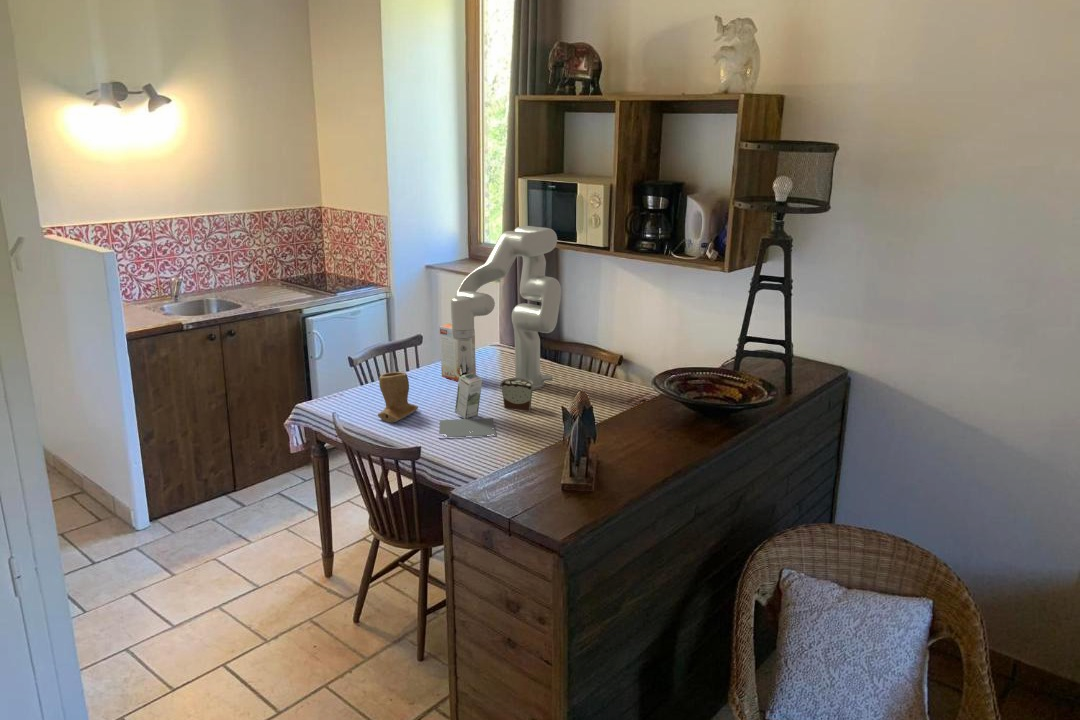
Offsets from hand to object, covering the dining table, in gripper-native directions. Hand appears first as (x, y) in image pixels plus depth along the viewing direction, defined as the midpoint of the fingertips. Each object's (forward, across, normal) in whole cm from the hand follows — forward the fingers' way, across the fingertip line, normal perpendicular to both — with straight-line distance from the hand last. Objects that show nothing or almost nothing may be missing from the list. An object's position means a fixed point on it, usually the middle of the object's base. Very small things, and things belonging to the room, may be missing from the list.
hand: (464, 384), depth 270 cm
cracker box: (+10, +38, +2) cm, 39 cm away
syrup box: (+10, -3, 0) cm, 10 cm away
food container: (+10, +4, -19) cm, 22 cm away
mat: (+10, -14, 0) cm, 18 cm away
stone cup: (+11, 0, +24) cm, 26 cm away
